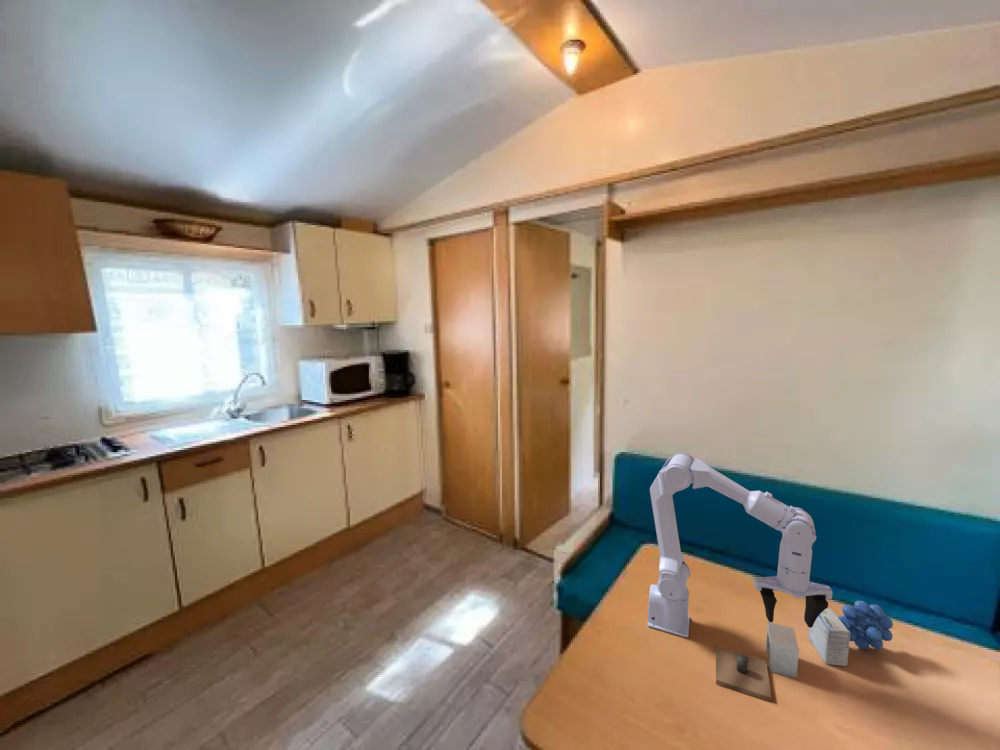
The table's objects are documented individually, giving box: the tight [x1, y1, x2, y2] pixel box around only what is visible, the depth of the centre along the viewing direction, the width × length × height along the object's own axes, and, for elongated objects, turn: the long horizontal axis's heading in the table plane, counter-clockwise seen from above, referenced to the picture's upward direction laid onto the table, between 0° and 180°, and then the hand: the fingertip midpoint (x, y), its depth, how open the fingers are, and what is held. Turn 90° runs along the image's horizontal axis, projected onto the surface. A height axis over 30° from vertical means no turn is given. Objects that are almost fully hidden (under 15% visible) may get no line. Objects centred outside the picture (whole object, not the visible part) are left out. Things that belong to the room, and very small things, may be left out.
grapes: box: [837, 600, 894, 650], centre depth 98 cm, size 12×7×12 cm, turn 83°
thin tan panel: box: [715, 645, 772, 703], centre depth 93 cm, size 10×10×4 cm
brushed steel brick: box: [765, 621, 800, 680], centre depth 95 cm, size 5×7×7 cm
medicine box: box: [807, 607, 851, 667], centre depth 98 cm, size 8×4×9 cm, turn 168°
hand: (788, 621), depth 94 cm, fingers open, 7 cm apart
